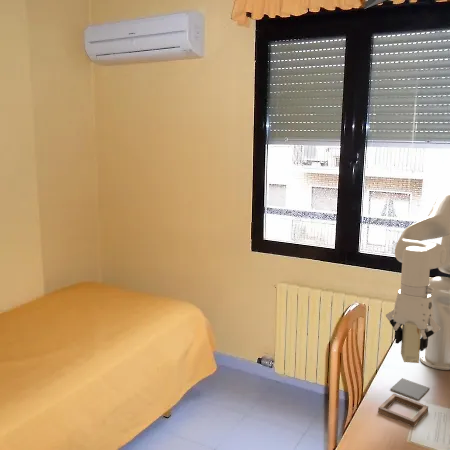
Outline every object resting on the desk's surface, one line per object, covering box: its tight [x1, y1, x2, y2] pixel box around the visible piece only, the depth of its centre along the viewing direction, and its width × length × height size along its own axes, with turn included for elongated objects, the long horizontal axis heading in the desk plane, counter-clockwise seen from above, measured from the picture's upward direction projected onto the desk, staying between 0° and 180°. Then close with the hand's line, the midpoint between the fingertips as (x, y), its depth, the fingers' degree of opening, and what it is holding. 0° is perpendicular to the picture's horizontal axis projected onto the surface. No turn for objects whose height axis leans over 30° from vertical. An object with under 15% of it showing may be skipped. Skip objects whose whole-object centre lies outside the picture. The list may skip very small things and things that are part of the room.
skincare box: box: [400, 322, 422, 364], centre depth 142 cm, size 6×4×12 cm
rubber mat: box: [389, 377, 430, 401], centre depth 154 cm, size 9×9×1 cm
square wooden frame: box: [377, 393, 429, 428], centre depth 142 cm, size 11×11×2 cm
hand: (410, 345), depth 143 cm, fingers closed on skincare box, 6 cm apart
